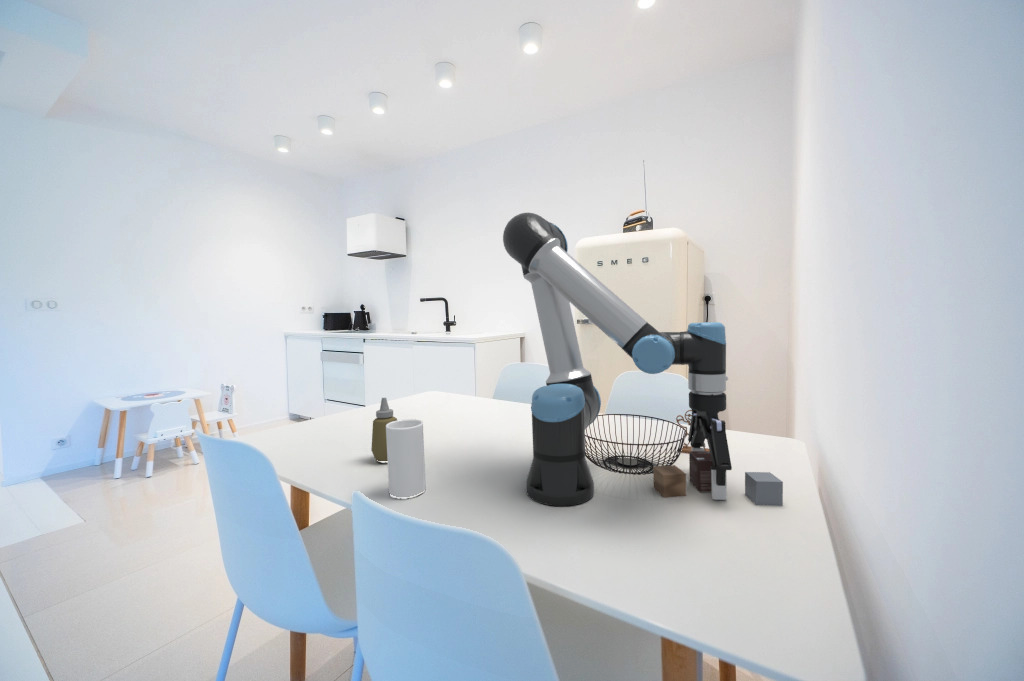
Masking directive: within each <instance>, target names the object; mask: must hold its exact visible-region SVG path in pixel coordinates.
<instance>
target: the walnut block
mask: <svg viewBox="0 0 1024 681" xmlns="http://www.w3.org/2000/svg"><path fill="white" fill-rule="evenodd" d="M652 467H653V468H652V469H653V470H652V474H653V476H652V478H653V480H652V481H653V489H654V490H655V491H656V492H657V493H658V494H659V495H660V496H661V497H663V498H676V497H686V496H687V473H686V472H685V471H683V470H682V469H680V468H679V467H678V466H676V465H675V464H672V465H671V464H670V465H659V466H657V465H656V466H652Z"/></svg>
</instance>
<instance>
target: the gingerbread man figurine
mask: <svg viewBox="0 0 1024 681" xmlns="http://www.w3.org/2000/svg"><path fill="white" fill-rule="evenodd" d="M688 412H692V409H688V410H687V411H685V413H684V416H683V415H681V414H679V415H677V417H676V418H675V420H676V423H677V425H679V427H681V428H682V429H685V435H686V437H687V436H689V432H688V427H687V426H684V425H682V424H681V423H680V422H683V423H687V425H688V426H690V424H691V418H690V417H692V413H691V414H690V413H688ZM687 413H688V414H687ZM679 417H681V418H679ZM678 418H679V419H678ZM690 444H691V442H689V441H688V442H687V443H686V442H684V444H683V445H682V446H683V448H682V451H681V453H680V454H687V455H689V451H692V448H693V447H691V445H690ZM702 448H704V451H710V450H709V447H708V448H707V447H702Z"/></svg>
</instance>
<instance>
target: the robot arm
mask: <svg viewBox="0 0 1024 681" xmlns="http://www.w3.org/2000/svg"><path fill="white" fill-rule="evenodd" d="M502 234H503V235H502V242H503V247H504V249H505V251H506V252H507V254H508V256H510V257H511V259H513V260H514V261H515V262H517V263H518V264H520V265H521V271H522V275H523V278H524V280H526V281H527V282H529V283H530V285H531V288H532V294H533V299H534V303H535V307H536V312H537V317H538V323H539V327H540V331H541V337H542V341H543V346H544V351H545V355H546V360H547V361H546V362H547V364H548V365H547V366H548V370H549V376H548V377H547V379H546V380H545V385H543V386H541V387H539V388H536V390H535V391H534V392H532V396H531V404H530V405H531V406H530V410H531V423H532V424H531V426H532V428H531V429H532V430H531V431H532V434H531V435H532V453H533V454H532V455H533V456H532V460H531V464H530V467H529V471H528V475H527V478H526V482H525V483H526V484H525V485H526V486H525V490H526V494H527V496H528V497H529V498H530V499H532V500H533V501H535V502H538V503H540V504H543V505H547V504H548V506H556V507H557V506H558V507H565V506H567V507H568V506H569V505H570V506H576V505H579V504H583V503H586V502H587V501H589V500H590V499H592V498H593V497H594V495H595V482H594V479H593V476H592V474H591V471H590V468H589V465H588V461H587V459H586V429H587V428H588V427H590V425H592V424H593V423H594V422H595V421H596V419H597V418H598V416H599V413H600V411H601V406H602V400H601V395H600V393H599V391H598V389H597V388H596V386H594V383H593V378H592V372H591V371H589V370H587V369H586V368H585V367H584V365H583V360H582V354H581V350H580V345H579V341H578V336H577V332H576V326H575V321H574V317H573V311H572V308H571V305H573V306H574V307H575V309H577V310H578V311H579V312H580V313H581V314H582V315H583V316H585V317H586V318H587V319H588V320H589V321H591V323H593V324H594V325H595V326H596V327H598V329H599V330H601V331H602V332H603V333H604V334H605V335H606V336H608V338H610V340H612V341H613V343H615V344H616V345H617V346H618V347H620V348H621V350H622V351H623V352H625V353H626V355H628V356H629V358H631V359H632V360H633V363H634V365H635V366H636V367H637V368H638V370H640V371H642V372H644V373H646V374H648V375H656V374H660V373H663V372H664V371H666V370H668V369H669V368H670V367H671V366H674V365H675V366H677V365H679V366H685V365H686V366H687V367H688V373H687V374H688V375H687V376H688V377H687V379H688V381H687V382H688V383H687V384H688V385H687V386H688V390H690V391H689V392H688V406H689V409H690V410H692V411H691V415H692V416H690V417H691V418H690V419H691V421H690V423H691V424H690V425H689V431H688V433H689V435H688V438H687V440H688V443H689V442H690V446H691V447H693V448H692V451H704V448H703V447H705V448H707V447H706V443H705V441H706V442H707V445H708V449H709V450H710V454H711V459H712V463H713V466H711V467H710V469H711V481H712V492H711V499H712V500H715V501H717V500H718V501H719V500H720V501H727V499H728V498H727V496H728V494H727V493H728V492H727V490H728V488H727V483H728V482H727V471H732V462H731V457H730V456H731V454H730V451H729V450H730V449H729V444H728V439H727V438H728V437H727V432H726V431H727V430H726V429H727V428H726V421H725V420H720V418H719V415H718V414H719V413H720V412H724V411H726V410H727V394H726V393H725V391H726V390H727V381H728V380H729V377H728V376H727V371H726V370H727V340H726V339H727V337H726V327H725V325H724V323H722V322H716V321H713V322H711V321H710V322H691V323H689V324H688V326H687V329H686V330H685V331H658V330H657V329H656V328H655V327H654V326H652V325H651V324H650V323H649V322H648V321H647V320H646V319H645V318H644V317H642V316H641V315H640V314H639V313H637V312H636V311H635V310H634V309H633V308H631V307H630V306H629V305H628V304H627V303H626V302H625V301H623V300H622V299H621V298H620V297H619V296H618V295H617V294H615V293H614V291H613V290H611V289H610V288H608V286H607V285H605V284H604V283H603V282H602V281H600V280H599V279H598V277H596V276H595V275H594V274H592V273H591V272H590V271H589V270H588V269H587V268H586V267H584V266H583V265H582V264H581V263H579V262H578V261H577V260H576V259H575V258H574V257H573V256H571V254H569V252H568V250H569V246H568V240H567V238H566V236H565V233H563V231H562V230H561V229H560V227H559V226H557V225H556V224H555V223H552V222H550V221H548V220H547V219H545V218H543V216H541V215H539V214H536V213H535V212H523V213H519V214H516V215H515V216H513V217H512V218H511V219H510V220H509V221H508V222H507V223H506V225H505V227H504V230H503V233H502ZM570 303H571V304H570ZM721 463H722V464H721Z"/></svg>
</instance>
